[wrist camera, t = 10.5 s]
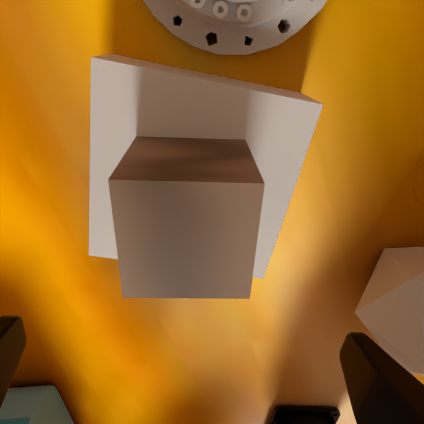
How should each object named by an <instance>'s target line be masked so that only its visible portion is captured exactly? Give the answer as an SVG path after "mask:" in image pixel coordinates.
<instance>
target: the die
mask: <svg viewBox="0 0 424 424" xmlns="http://www.w3.org/2000/svg"><path fill="white" fill-rule="evenodd" d="M354 313H355V314H356V316H357V317H358V318H359V319H360V321H361V322H362V323H363V324H364V326H365V327H366V328H367V329H368V331H369V332H370V333H371V335H372V336H373V337H374V338H375V340H376V341H377V342H378V343H379V345H380V346H381V347H382V348H383V350H384V351H385V352H386V353H388V354H389V355H390V356H391V357H392V358H393V359H394V360H396V361H397V362H398V363H399V364H400V365H401V366H403V367H404V368H405V369H406V370H407V371H408V372H411V373H416V374H421V375H424V247H403V248H384V250H383V252H382V254H381V256H380V258H379V261H378V263H377V265H376V267H375V269H374V271H373V273H372V276H371V278H370V280H369V282H368V284H367V286H366V288H365V291H364V293H363V295H362V297H361V299H360V301H359V303H358V306H357V308H356V310H355V312H354Z"/></svg>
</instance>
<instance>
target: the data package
mask: <svg viewBox="0 0 424 424" xmlns="http://www.w3.org/2000/svg"><path fill="white" fill-rule="evenodd" d="M0 424H74V422H73V420H72V418H71V416H70V414H69V412H68V410H67V408H66V406H65V404H64V402H63V400H62V398H61V396H60V394H59V392H58V390H57V388H56V387H55V386H53V385H45V386H31V387H18V388H9V389H8V391H7V394H6V396H5V399H4V401H3V404H2V406H1V408H0Z"/></svg>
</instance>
